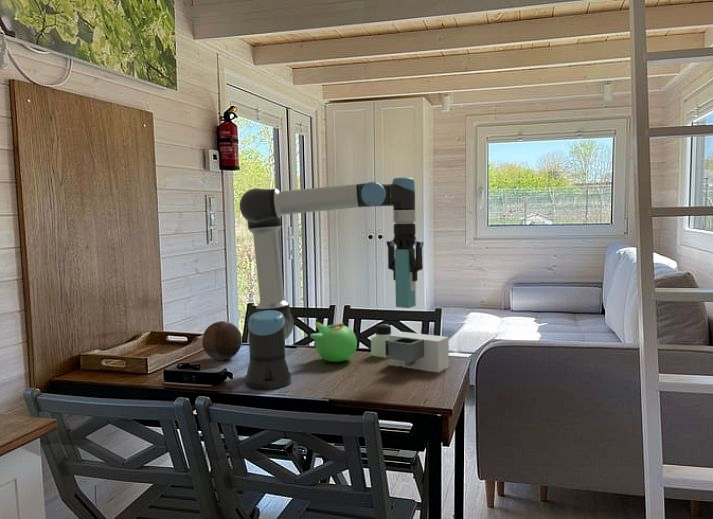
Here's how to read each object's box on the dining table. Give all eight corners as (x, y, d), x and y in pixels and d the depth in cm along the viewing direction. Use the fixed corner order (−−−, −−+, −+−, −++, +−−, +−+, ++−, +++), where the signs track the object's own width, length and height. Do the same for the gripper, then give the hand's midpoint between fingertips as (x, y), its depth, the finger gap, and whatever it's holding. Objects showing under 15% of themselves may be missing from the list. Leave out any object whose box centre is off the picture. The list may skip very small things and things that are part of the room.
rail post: (395, 307, 203) (394, 249, 201) (403, 305, 207) (402, 248, 205) (408, 308, 200) (407, 249, 199) (415, 306, 204) (414, 248, 203)
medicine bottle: (386, 358, 225) (385, 327, 224) (370, 355, 229) (370, 325, 228) (396, 354, 231) (395, 324, 230) (381, 352, 235) (380, 322, 234)
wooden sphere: (247, 355, 234) (246, 318, 233) (234, 364, 220) (233, 325, 218) (211, 354, 237) (210, 318, 235) (196, 364, 222) (194, 325, 221)
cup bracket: (389, 367, 204) (388, 341, 203) (402, 361, 211) (401, 336, 211) (411, 370, 199) (411, 344, 198) (424, 364, 206) (424, 339, 206)
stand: (389, 364, 215) (389, 335, 214) (400, 360, 221) (400, 331, 220) (438, 372, 203) (438, 341, 202) (448, 367, 210) (448, 337, 209)
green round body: (356, 366, 213) (355, 326, 212) (310, 367, 214) (309, 327, 213) (357, 354, 231) (356, 318, 230) (315, 355, 232) (314, 318, 231)
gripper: (432, 222, 199) (433, 290, 201) (388, 223, 210) (389, 287, 211) (422, 223, 193) (423, 293, 195) (376, 223, 203) (377, 290, 205)
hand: (405, 290), depth 203 cm, fingers closed on rail post, 5 cm apart
